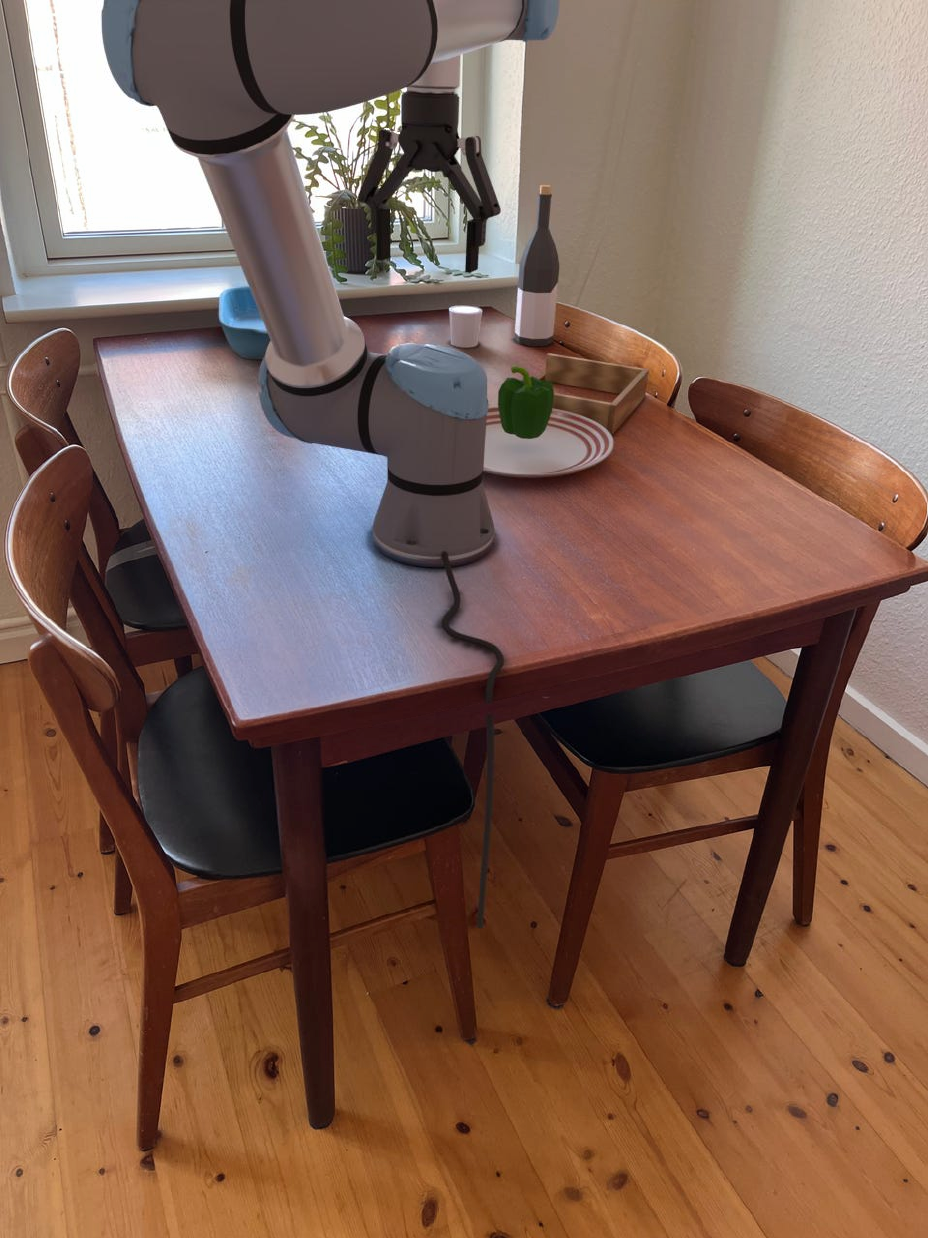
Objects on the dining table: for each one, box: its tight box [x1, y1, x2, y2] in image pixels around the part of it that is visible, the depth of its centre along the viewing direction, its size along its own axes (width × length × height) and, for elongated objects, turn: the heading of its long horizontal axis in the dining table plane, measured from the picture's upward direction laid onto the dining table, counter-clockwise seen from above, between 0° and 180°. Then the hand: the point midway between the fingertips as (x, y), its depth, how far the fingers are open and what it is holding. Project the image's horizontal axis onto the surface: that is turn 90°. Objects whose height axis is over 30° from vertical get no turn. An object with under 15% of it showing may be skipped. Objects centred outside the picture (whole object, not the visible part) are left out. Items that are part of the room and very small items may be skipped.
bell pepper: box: [497, 365, 555, 439], centre depth 139 cm, size 8×8×10 cm
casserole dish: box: [218, 285, 271, 360], centre depth 188 cm, size 37×22×7 cm, turn 13°
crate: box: [535, 352, 650, 436], centre depth 162 cm, size 20×22×5 cm
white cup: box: [448, 305, 483, 349], centre depth 191 cm, size 7×7×7 cm
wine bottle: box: [514, 184, 560, 347], centre depth 189 cm, size 8×8×30 cm
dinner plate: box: [483, 405, 615, 479], centre depth 142 cm, size 28×27×3 cm
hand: (426, 264), depth 130 cm, fingers open, 13 cm apart
